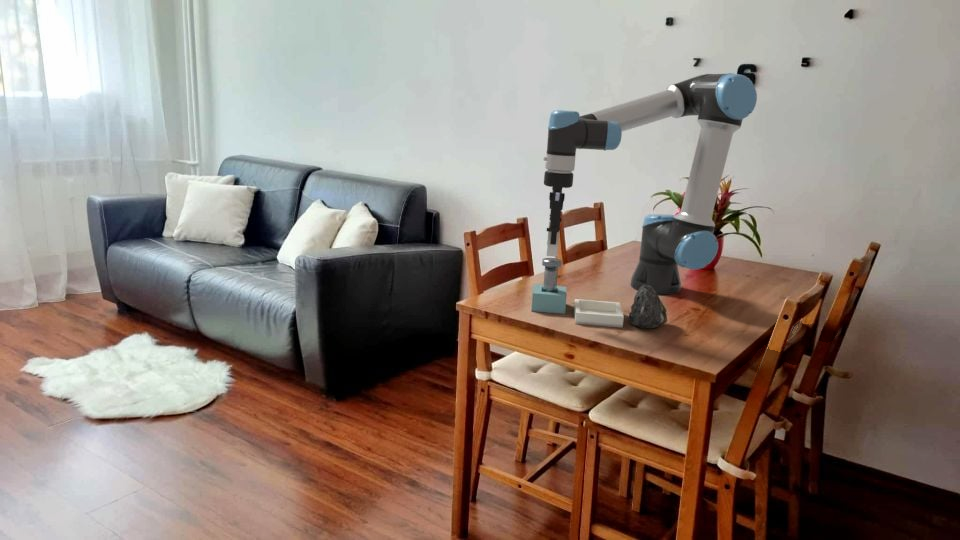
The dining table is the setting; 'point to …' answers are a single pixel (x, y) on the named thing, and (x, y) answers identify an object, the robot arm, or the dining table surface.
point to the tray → (598, 313)
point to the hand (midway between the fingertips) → (551, 250)
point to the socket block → (549, 300)
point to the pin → (551, 274)
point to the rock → (647, 309)
